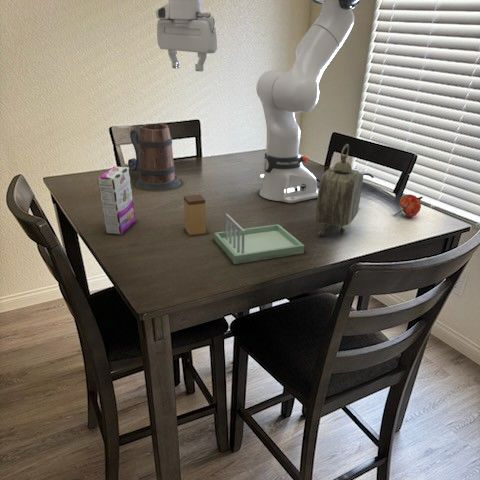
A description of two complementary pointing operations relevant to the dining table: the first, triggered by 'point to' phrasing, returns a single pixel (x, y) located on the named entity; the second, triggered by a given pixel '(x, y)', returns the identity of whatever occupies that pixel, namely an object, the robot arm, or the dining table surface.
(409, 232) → the dining table surface
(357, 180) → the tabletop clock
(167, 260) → the dining table surface
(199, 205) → the kraft box
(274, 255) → the dish rack
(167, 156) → the tankard
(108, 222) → the candy bar box
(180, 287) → the dining table surface
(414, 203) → the pomegranate
